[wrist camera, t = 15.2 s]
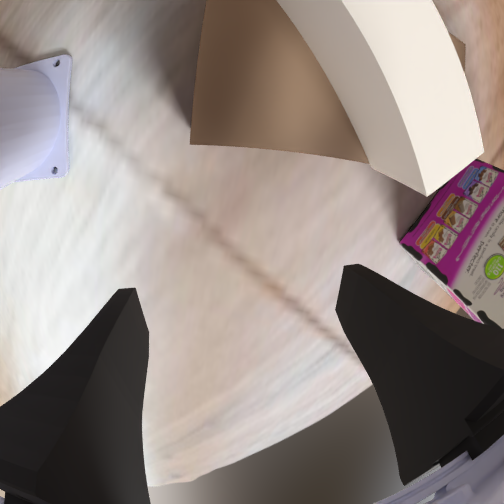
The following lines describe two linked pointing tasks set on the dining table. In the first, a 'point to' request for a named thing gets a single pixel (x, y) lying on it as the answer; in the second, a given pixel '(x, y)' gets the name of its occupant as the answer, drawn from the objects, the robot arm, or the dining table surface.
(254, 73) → the cubby
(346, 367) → the dining table surface
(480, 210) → the candy bar box
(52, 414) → the robot arm
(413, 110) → the block
